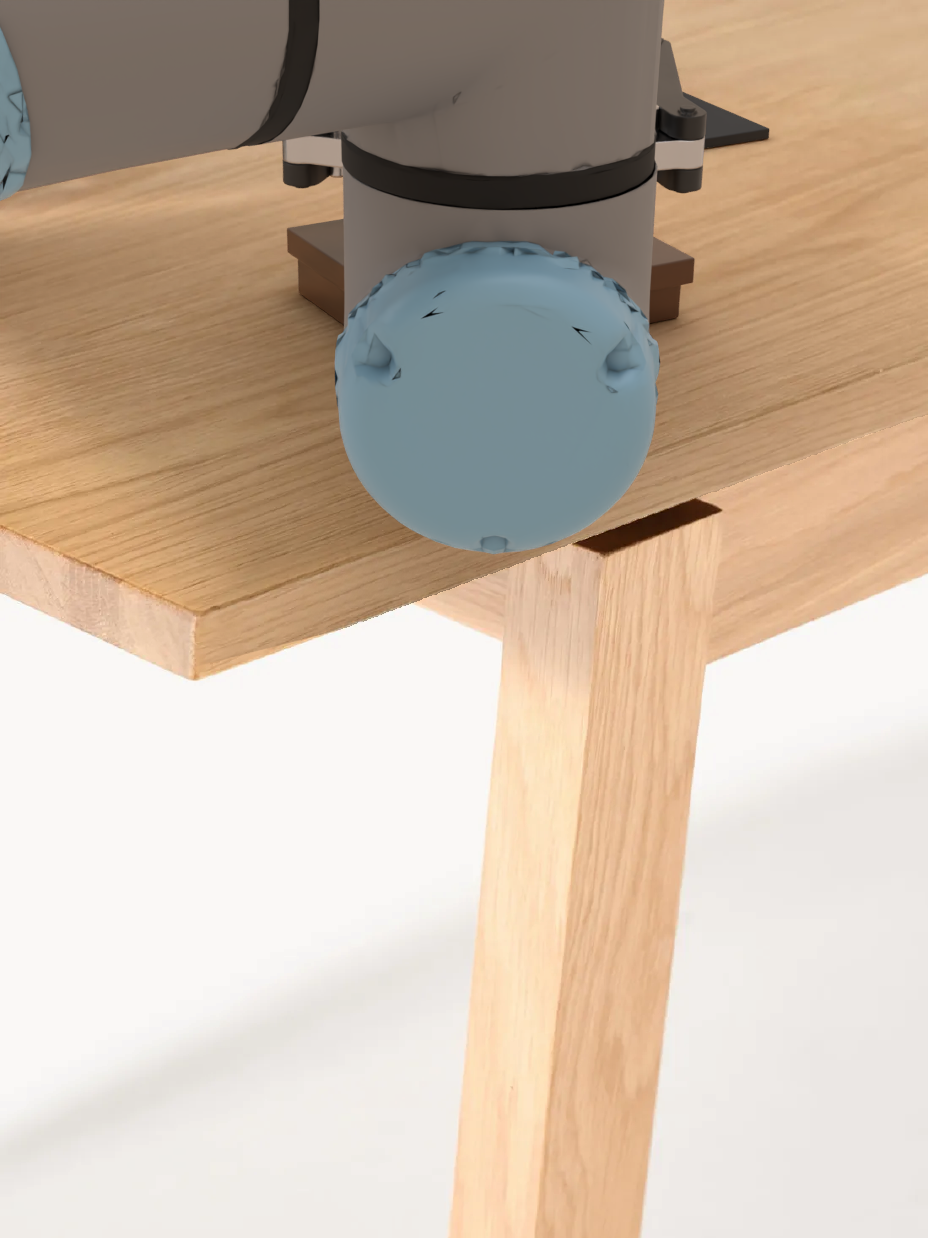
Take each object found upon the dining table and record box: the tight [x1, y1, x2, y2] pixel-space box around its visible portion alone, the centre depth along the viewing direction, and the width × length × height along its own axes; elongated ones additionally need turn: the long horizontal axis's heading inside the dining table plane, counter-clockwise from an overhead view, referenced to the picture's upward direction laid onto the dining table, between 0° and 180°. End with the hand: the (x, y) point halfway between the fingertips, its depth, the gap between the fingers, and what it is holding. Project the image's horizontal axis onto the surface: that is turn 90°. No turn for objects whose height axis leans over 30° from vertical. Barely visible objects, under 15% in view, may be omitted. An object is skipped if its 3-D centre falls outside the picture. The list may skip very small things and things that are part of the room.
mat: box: [682, 91, 770, 150], centre depth 104 cm, size 10×10×1 cm
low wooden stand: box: [286, 218, 696, 326], centre depth 82 cm, size 10×12×2 cm
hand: (491, 20), depth 83 cm, fingers closed on spice bottle, 5 cm apart
